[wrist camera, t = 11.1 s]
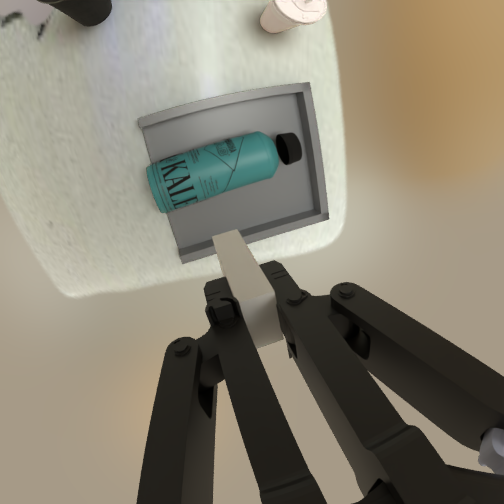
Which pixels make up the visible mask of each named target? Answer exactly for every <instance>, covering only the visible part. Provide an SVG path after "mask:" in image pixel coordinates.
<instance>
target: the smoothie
mask: <svg viewBox="0 0 504 504" xmlns="http://www.w3.org/2000/svg"><path fill="white" fill-rule="evenodd" d="M326 9H327V4H326V0H270V1H269V3H268V5H267V6H266V8H265V10H264V12H263V14H262V15H261V17H260V24H261V26H262V28H263V29H264V30H266V31H267V32H270V33H279V32H282V31H285V30H287V29H290V28H293V27H296V26H299V25H309V24H313V23H315V22H317V21H318V20H320V19H321V18H322V17H323V16H324V15H325V13H326Z"/></svg>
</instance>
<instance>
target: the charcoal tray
mask: <svg viewBox="0 0 504 504" xmlns="http://www.w3.org/2000/svg"><path fill="white" fill-rule="evenodd" d="M138 123H139V127H140V128H142V130H143V134H144V138H145V141H146V145H147V149H148V152H149V156H150V159H151V163H152V164H153V163H155V162H156V161H157V162H160V160H162V159H165V158H167V157H170V156H171V157H172V156H173V155H178V153H179V154H182V153H185V152H188V151H189V150H194V149H197V148H201V147H204V146H207V145H210V144H213V142H214V143H215V142H216V143H217V142H220V141H224V140H223V139H225V140H226V139H228V138H229V137H230V138H234V137H238V136H242V135H246V134H250V133H253V132H256V131H260V132H262V133H264V134H265V135H267V136H269V137H270V138H271V139H272V141H273V143H274V145H275V147H276V136H277V135H278V134H282V133H283V134H284V133H290V132H291V133H294V134H295V135H296V136H297V137H298V139H299V141H300V143H301V147H302V158H301V160H299V161H297V162H294V163H292V164H290V165H285V164H284V163H283V162H282V161H281V159H280V157H279V154H278V158H279V165H278V168H277V170H276V173H275V174H274V176H273V177H272V178H271V179H265V180H262V181H259V182H256V183H252V184H249V185H246V186H243V187H240V188H236V189H233V190H230V191H227V192H224V193H222V194H219V195H220V196H219V195H216V196H213V197H214V198H213V197H210V198H211V199H210V198H207V199H208V200H207V199H206V200H205V199H204V200H205V201H204V200H201V201H202V202H200V201H199V203H197V202H196V204H195V203H194V204H190V205H187V206H184V208H183V207H181V208H182V209H181V208H178V209H177V211H175V210H173V212H172V211H170V213H168V212H167V215H168V218H169V221H170V224H171V227H172V230H173V233H174V236H175V239H176V242H177V245H178V248H179V254H180V259H181V262H182V264H185V263H188V262H191V261H194V260H197V259H201V258H204V257H207V256H210V255H213V254H217V252H216V249H215V245H214V242H213V238H212V236H215V235H219V234H222V233H225V232H229V231H232V230H235V229H237V230H238V231H239V233H240V235H241V236H242V238H243V240H244V241H245V243H246V244H249V243H252V242H256V241H259V240H262V239H266V238H269V237H272V236H275V235H279V234H282V233H285V232H289V231H292V230H295V229H299V228H302V227H305V226H308V225H312V224H315V223H318V222H322V221H325V220H328V219H329V212H328V202H327V193H326V184H325V176H324V168H323V160H322V153H321V146H320V139H319V133H318V126H317V120H316V114H315V109H314V103H313V97H312V92H311V87H310V82H306V83H296V84H288V85H280V86H273V87H266V88H260V89H253V90H248V91H242V92H237V93H232V94H227V95H222V96H217V97H213V98H209V99H204V100H200V101H196V102H192V103H188V104H184V105H181V106H177V107H174V108H170V109H167V110H163V111H160V112H157V113H153V114H150V115H147V116H144V117H141V118H138ZM233 136H234V137H233ZM219 140H220V141H219ZM209 143H210V144H209ZM193 148H194V149H193ZM276 150H277V147H276ZM181 152H182V153H181ZM277 153H278V151H277Z"/></svg>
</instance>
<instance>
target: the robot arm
mask: <svg viewBox="0 0 504 504" xmlns="http://www.w3.org/2000/svg"><path fill="white" fill-rule="evenodd" d="M212 238H213V242H214V245H215V249H216V252H217V256H218V259H219V262H220V266H221V269H222V273H223V275H224V277H222V278H219V279H215V280H212V281H209V282H207V283H206V285H205V287H204V293H205V297H206V301H207V306H206V309H205V312H206V315H207V317H208V320H209V322H210V325H211V327H210V329H209V330H208V332H207V333H206V334H205V335H203V336H202V337H200V338H198V339H197V340H195V339H193V338H191V337H182V338H178V339H176V340H175V341H173V342H171V343H170V345H168V347H167V349H166V352H165V356H164V361H163V365H162V369H161V374H160V378H159V383H158V387H157V392H156V397H155V401H154V406H153V411H152V416H151V421H150V426H149V431H148V436H147V442H146V447H145V453H144V459H143V465H142V470H141V477H140V483H139V490H138V497H137V504H213V476H214V475H213V474H214V449H215V447H214V446H215V426H216V406H217V388H218V386H217V384H218V383H219V382H221V381H223V380H224V379H225V381H226V385H227V388H228V391H229V395H230V399H231V402H232V405H233V409H234V412H235V416H236V419H237V422H238V426H239V429H240V432H241V435H242V438H243V442H244V445H245V448H246V451H247V454H248V457H249V460H250V463H251V466H252V469H253V472H254V475H255V478H256V481H257V483H258V487H259V490H260V498H261V502H262V504H327V502H326V500H325V498H324V496H323V494H322V492H321V490H320V488H319V486H318V484H317V482H316V480H315V479H314V477H313V476H312V474H311V473H310V471H309V469H308V467H307V464H306V462H305V460H304V458H303V456H302V453H301V451H300V449H299V447H298V445H297V443H296V440H295V438H294V436H293V434H292V432H291V429H290V427H289V425H288V422H287V420H286V418H285V416H284V413H283V411H282V409H281V406H280V404H279V402H278V399H277V397H276V395H275V392H274V390H273V388H272V385H271V383H270V381H269V378H268V376H267V373H266V371H265V369H264V366H263V364H262V362H261V359H260V357H259V354H258V352H257V348H260V347H263V346H266V345H269V344H271V343H274V342H277V341H280V340H283V334H284V336H285V338H286V342H287V347H288V352H289V358H292V357H293V359H294V361H295V362H296V364H297V366H298V368H299V370H300V372H301V374H302V376H303V378H304V379H305V381H306V383H307V385H308V387H309V389H310V391H311V393H312V395H313V396H314V398H315V400H316V402H317V404H318V406H319V408H320V410H321V412H322V413H323V415H324V417H325V419H326V421H327V423H328V425H329V426H330V428H331V430H332V432H333V434H334V436H335V438H336V439H337V441H338V443H339V445H340V447H341V449H342V451H343V452H344V454H345V456H346V458H347V460H348V461H349V463H350V465H351V467H352V469H353V471H354V473H355V476H356V480H357V483H358V486H359V488H360V490H361V492H362V494H363V496H364V498H363V499H362V500H360V501H359V502H356V503H353V504H504V377H503V376H502V375H500V374H499V373H497V372H496V371H494V370H493V369H491V368H490V367H488V366H487V365H485V364H484V363H482V362H481V361H479V360H478V359H476V358H475V357H473V356H471V355H470V354H468V353H467V352H465V351H464V350H462V349H461V348H459V347H457V346H456V345H454V344H453V343H451V342H450V341H448V340H446V339H445V338H443V337H441V336H440V335H439V334H437V333H435V332H434V331H432V330H431V329H429V328H427V327H426V326H424V325H423V324H421V323H419V322H418V321H416V320H415V319H413V318H411V317H410V316H408V315H406V314H405V313H403V312H402V311H400V310H398V309H397V308H395V307H393V306H392V305H390V304H388V303H387V302H385V301H383V300H382V299H380V298H379V297H377V296H375V295H374V294H372V293H370V292H369V291H367V290H365V289H364V288H362V287H360V286H358V285H356V284H354V283H349V282H344V283H340V284H337V285H335V286H334V287H333V288H332V290H331V291H330V295H323V296H311V294H310V293H308V292H307V291H305V290H302V289H300V288H299V287H298V285H297V284H296V283H295V281H294V280H293V279H292V277H291V276H290V275H289V273H288V272H287V271H286V269H285V268H284V267H283V265H282V264H281V263H279V262H277V261H275V260H273V261H270V262H267V263H264V264H261V265H258V263H257V261H256V260H255V258H254V256H253V255H252V253H251V251H250V250H249V248H248V246H247V245H246V243H245V241H244V240H243V238H242V236H241V235H240V233H239V231H238V230H237V229H235V230H232V231H229V232H225V233H222V234H219V235H215V236H212ZM282 332H283V333H282ZM367 370H368V371H369V372H370V373H371V374H373V375H374V376H375V377H376V378H377V379H379V380H380V381H381V382H383V383H384V384H385V385H386V386H387V387H389V388H390V389H391V390H392V391H394V392H395V393H396V394H397V395H399V396H400V397H401V398H403V399H404V400H405V401H406V402H408V403H409V404H410V405H411V406H412V407H414V408H415V409H416V410H418V411H419V412H420V413H421V414H423V415H424V416H425V417H426V418H428V419H429V420H430V421H431V422H433V423H434V424H435V425H436V426H438V427H439V428H440V429H442V430H443V431H444V432H446V433H447V434H448V435H449V436H451V437H452V438H453V439H455V440H456V441H458V442H459V443H461V444H462V445H464V446H466V447H468V448H470V449H473V450H476V451H479V453H480V455H479V458H478V462H479V464H480V465H481V466H487V467H489V468H491V469H492V470H493V472H494V473H495V474H493V473H486V472H481V471H474V470H470V469H465V468H460V467H455V466H451V465H446V464H445V463H444V461H443V460H442V459H441V457H440V456H439V454H438V453H437V451H436V450H435V449H434V447H433V446H432V444H431V443H430V442H429V440H428V439H427V437H426V436H425V435H424V433H423V432H422V431H421V430H420V429H419V428H418V427H416V426H413V425H408V424H406V423H405V422H404V421H403V419H402V418H401V417H400V415H399V414H398V412H397V411H396V410H395V408H394V407H393V405H392V404H391V403H390V401H389V400H388V398H387V397H386V396H385V394H384V393H383V392H382V390H381V389H380V388H379V386H378V385H377V383H376V382H375V380H374V379H373V378H372V376H371V375H370V374H369V372H368V371H367Z"/></svg>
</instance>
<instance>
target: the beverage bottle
mask: <svg viewBox="0 0 504 504" xmlns="http://www.w3.org/2000/svg"><path fill="white" fill-rule="evenodd" d="M233 137H234V136H233ZM223 140H224V141H220V140H219V141H220V142H217V143H216V142H215V143H214V142H213V144H210V143H209V144H210V145H207V146H204V147H201V148H197V149H194V148H193V149H194V150H189V151H188V152H185V153H182V152H181V153H182V154H179V153H178V155H173V156H172V157H171V156H170V157H167V158H165V159H162V160H160V162H157V161H156V162H155V163H153V164H151V165H150V166H148V167H147V168H146V170H147V176H148V180H149V184H150V187H151V190H152V193H153V196H154V199H155V201H156V204H157V206H158V208H159V210H160V211H161V213H167V212H168V213H170V211H172V212H173V210H175V211H177V209H178V208H181V207H183V208H184V206H187V205H190V204H194V203H195V204H196V202H197V203H199V201H200V202H202V201H201V200H204V199H205V200H206V199H207V198H210V197H213V196H216V195H219V194H222V193H224V192H227V191H230V190H233V189H236V188H240V187H243V186H246V185H249V184H252V183H256V182H259V181H262V180H265V179H271V178H272V177H273V176H274V174H275V173H276V170H277V168H278V165H279V158H278V154H279V157H280V159H281V161H282V162H283V163H284V164H285V165H290V164H292V163H294V162H297V161H299V160H301V158H302V147H301V143H300V141H299V139H298V137H297V136H296V135H295V134H294V133H291V132H290V133H284V134H283V133H282V134H278V135H277V136H276V147H277V150H276V147H275V145H274V143H273V141H272V139H271V138H270V137H269V136H267V135H265V134H264V133H262V132H260V131H256V132H253V133H250V134H246V135H242V136H238V137H234V138H230V137H229V138H228V139H226V140H225V139H223ZM277 151H278V153H277ZM219 196H220V195H219ZM213 198H214V197H213ZM210 199H211V198H210ZM205 200H204V201H205ZM207 200H208V199H207ZM181 209H182V208H181Z"/></svg>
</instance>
